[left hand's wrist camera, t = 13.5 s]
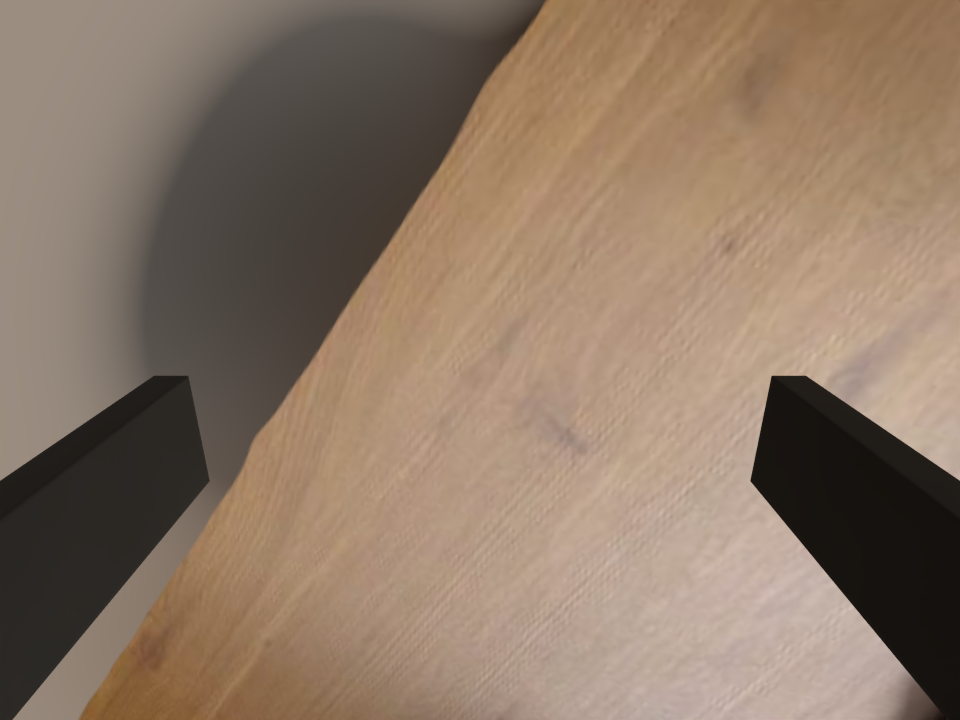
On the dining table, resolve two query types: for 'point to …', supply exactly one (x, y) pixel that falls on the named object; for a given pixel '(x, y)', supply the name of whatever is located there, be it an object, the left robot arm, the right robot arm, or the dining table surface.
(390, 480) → the dining table surface
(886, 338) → the dining table surface
